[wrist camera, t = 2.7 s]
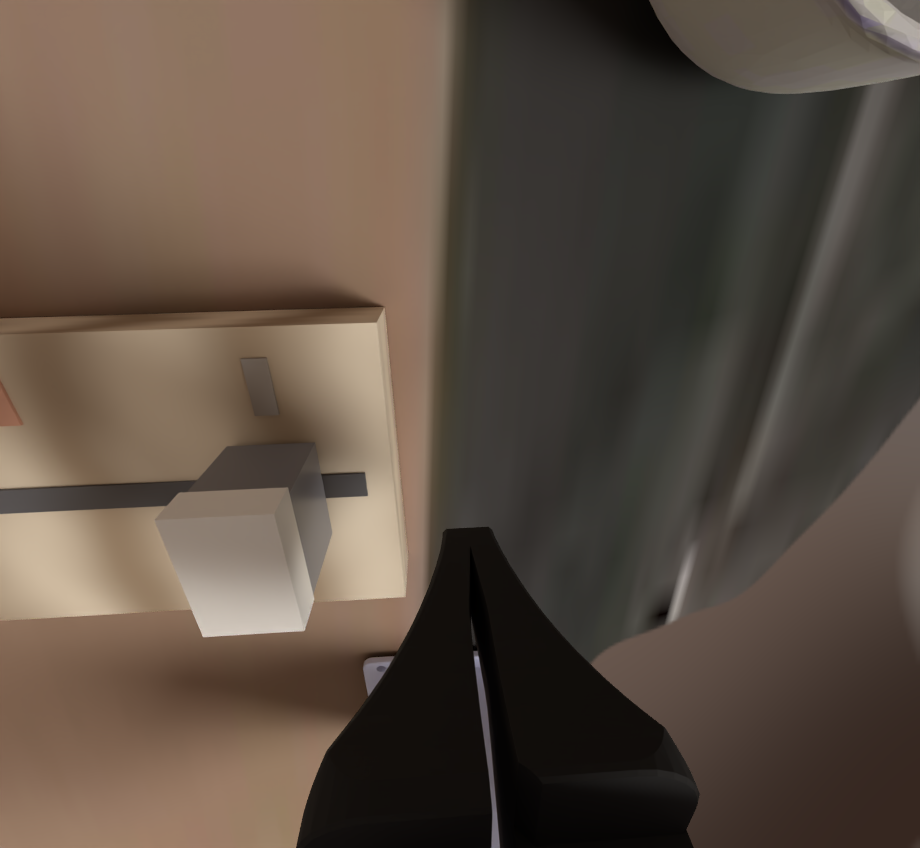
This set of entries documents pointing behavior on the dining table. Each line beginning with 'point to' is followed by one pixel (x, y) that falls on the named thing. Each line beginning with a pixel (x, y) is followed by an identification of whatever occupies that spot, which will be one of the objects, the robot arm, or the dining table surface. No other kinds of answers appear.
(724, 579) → the dining table surface
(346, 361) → the console
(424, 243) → the dining table surface
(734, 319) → the dining table surface
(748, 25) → the teacup
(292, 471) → the fader
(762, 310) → the dining table surface
